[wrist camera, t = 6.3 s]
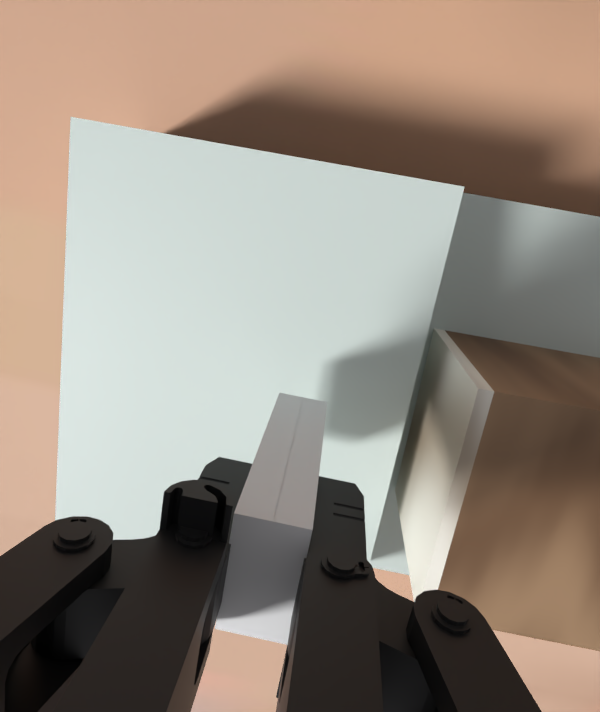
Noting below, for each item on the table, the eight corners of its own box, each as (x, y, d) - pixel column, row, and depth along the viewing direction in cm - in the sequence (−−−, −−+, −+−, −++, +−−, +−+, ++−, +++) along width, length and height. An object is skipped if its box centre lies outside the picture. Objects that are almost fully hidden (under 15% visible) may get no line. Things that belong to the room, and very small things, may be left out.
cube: (478, 388, 13) (762, 440, 13) (434, 328, 20) (620, 361, 20) (416, 614, 15) (661, 663, 15) (394, 489, 22) (563, 522, 21)
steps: (148, 141, 22) (70, 116, 16) (702, 239, 21) (846, 254, 15) (121, 474, 27) (53, 555, 20) (574, 566, 26) (644, 679, 20)
